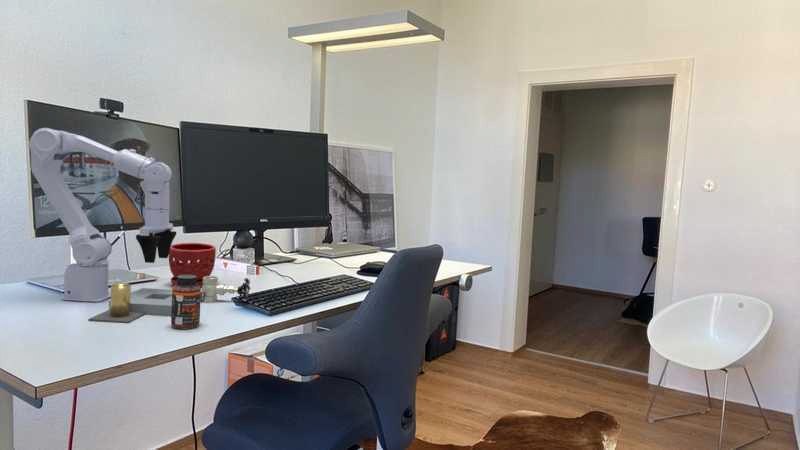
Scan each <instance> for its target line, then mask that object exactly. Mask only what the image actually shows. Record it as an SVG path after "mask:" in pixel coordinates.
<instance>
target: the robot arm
mask: <svg viewBox="0 0 800 450" xmlns="http://www.w3.org/2000/svg"><path fill="white" fill-rule="evenodd" d="M27 145H28V147H29V150H30V166H31V167H30V169H31V173H32V174H33V176H34V177H35V180H36V181H37V182H38V184H39V186H40V187H41V189H42V191H43V192H44V194H45V196H46V197H47V199H48V201H49V202H50V204H51V206H52V207H53V209H54V210H55V212H56V214H57V216H58V217H59V219H60V220H61V222H62V223H63V225H64V227H65V229H66V230H67V232H68V233H69V237H68V238H69V239H68V242H69V244H70V247H71V249H72V251H71V252H72V257H73V259H74V261H75V262H76V263H70V264H68V266H67V267H66V269H65V271H64V275H63V276H64V278H63V285H64V286H63V288H64V289H63V292H64V293H63V297H62V299H61V300H62V301H74V302H75V301H76V302H77V301H78V302H92V303H95V302H97V303H100V302H102V301H105V300H107V299H109V298H110V299H111V292H109V275H110V273H109V267H110V266H109V260H108V257H109V256H110V255H111V254H112V252H113V251H112V250H113V247H112V243H111V241H110V240H109V239H107V238H106V237H104V236H103V235H102V234H101V232H100V230H99V229H97V228H96V227H94V226H93V225H92V224H91V222H90V220H89V219H88V217H87V215H86V213H85V212H84V211H83V209H82V207H81V205H80V203H79V202H78V200H77V198H76V197H75V195H74V194H73V191H72V190H71V189H70V187H69V185H68V184H67V182H66V180H65V178H64V177H63V175H62V173H61V172H60V169H61V166H62V164H63V162H64V161H65V159H66V158H68V156H70V155H71V153H72V152H73V153H80V152H83V153H85V154H88V155H90V156H93V157H96V158H99V159H102V160H105V161H108V162H110V163H112V164H113V165H114V167H115V169H116V170H117V171H120V172H122V173H124V174H127V175H130V176H131V177H135V178H137V179H140V180H144V181H145V196H144V197H145V198H144V199H145V201H144V203H145V204H144V205H145V206H144V207H145V208H144V225H142V227H139V234H136V235H135V240H137V242H138V244H139V246H140V248H141V251H142V252H141V253H142V255H143V260H144V262H145V263H149V264H155V261H156V256H157V255H158V258H159V259H169V251H170V247H171V245H173V242H174V239H175V238H176V236H177V231H173V230H174V225H173V222H172V223H171V222H170V182H169V181H170V180H171V179H172V176H173V171H172V170H171V167H170V166H169V165H167V164H166V163H165V162H163V161H161V162H160V161H155V159H156V158H154V157H152V156H151V157H146V156H144V155H141V154H139V153H137V150H136V149H132V148H130V149H127V148H124V149H122V150H119V151H118V150H116V149H113V148H111V147H109V146H106V145H105V144H102V143H99V142H97V141H94V140H93V139H90V138H88V137H85V136H83V135H79V134H76V133H71V132H68V131H65V130H56V129H52V128H49V127H42V128H38V129H37V130H35V131H34V132H33V134H32V136H31V137H30V139H29V142H28V144H27Z"/></svg>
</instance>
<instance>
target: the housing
mask: <svg viewBox="0 0 800 450" xmlns="http://www.w3.org/2000/svg"><path fill="white" fill-rule="evenodd" d="M202 295H203V294H202V291H201V299H200V303H201V302H203V301H202ZM108 303H109V304H108V310H109V311H110V307H111V301H109V302H108ZM171 309H172V289H167V288H165V289H164V288H148V287H147V288H145V287H141V288H139V289H137V290H134V291H132V292H130V312H138V313H145V315H147V316H148V315H149V316H164V317H166V316H167V317H171ZM145 315H144V316H145Z"/></svg>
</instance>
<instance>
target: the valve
mask: <svg viewBox="0 0 800 450" xmlns="http://www.w3.org/2000/svg"><path fill="white" fill-rule="evenodd" d="M218 279H219V278H218V276H215V275H210V276H205V277H203V283H204V284H203V286H202V287H201V292H202V301H201V302H203V303H210V304H212V303H216V302H217V301H218V295H219V296H224V295H225V294H227V293H228V294H233V295H234V294H235V293H237V295H239V297H240V296H246V295H249V296H250V290H251V286H250V284H251V281H250V280H251V279H249V278H243V279H244V282H242V284H241V285H240V286H237V287H235V286H230V285H229V286H226V284H225V283H224V284H223V283H221V284H218Z"/></svg>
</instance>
